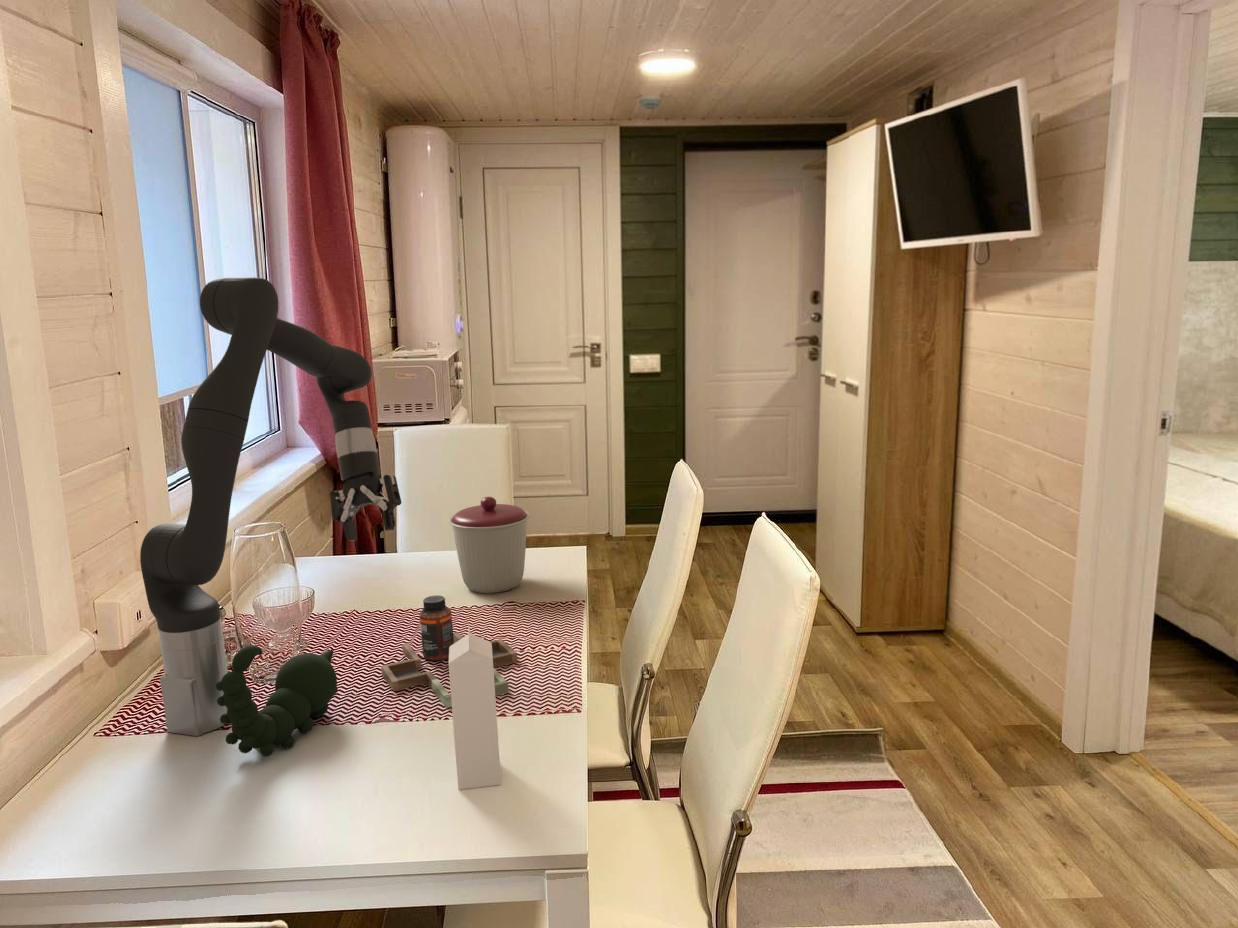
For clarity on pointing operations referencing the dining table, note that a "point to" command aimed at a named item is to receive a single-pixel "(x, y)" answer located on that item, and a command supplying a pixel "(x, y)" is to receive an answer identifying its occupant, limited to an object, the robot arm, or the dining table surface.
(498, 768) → the milk
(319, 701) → the toy figurine
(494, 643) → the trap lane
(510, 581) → the canister
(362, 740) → the dining table surface
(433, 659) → the supplement bottle
